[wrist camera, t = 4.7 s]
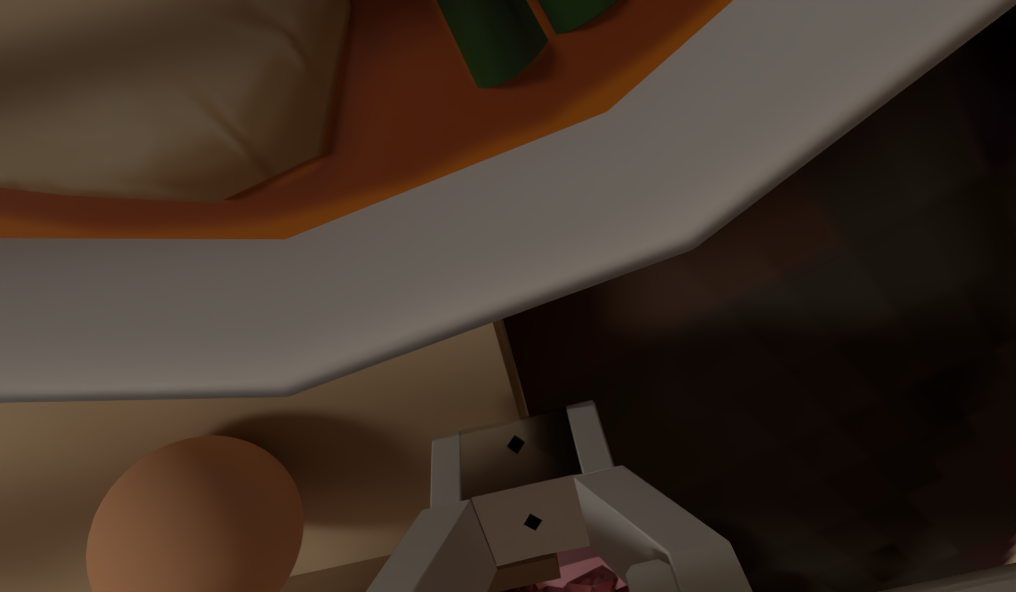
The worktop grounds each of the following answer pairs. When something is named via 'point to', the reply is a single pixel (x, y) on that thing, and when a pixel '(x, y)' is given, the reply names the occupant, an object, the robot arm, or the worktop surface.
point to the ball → (198, 522)
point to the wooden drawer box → (285, 435)
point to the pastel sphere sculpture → (579, 575)
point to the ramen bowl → (388, 167)
